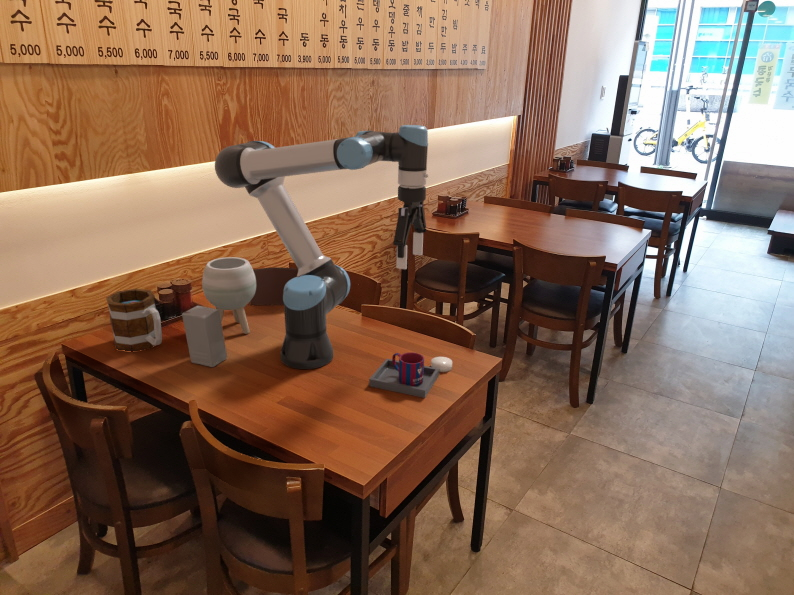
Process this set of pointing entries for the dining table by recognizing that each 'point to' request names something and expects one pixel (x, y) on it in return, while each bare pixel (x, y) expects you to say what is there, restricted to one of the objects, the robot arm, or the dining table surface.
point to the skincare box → (204, 336)
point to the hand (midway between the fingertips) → (409, 261)
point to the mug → (134, 320)
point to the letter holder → (271, 285)
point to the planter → (230, 286)
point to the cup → (410, 368)
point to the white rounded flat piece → (442, 364)
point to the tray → (389, 380)
